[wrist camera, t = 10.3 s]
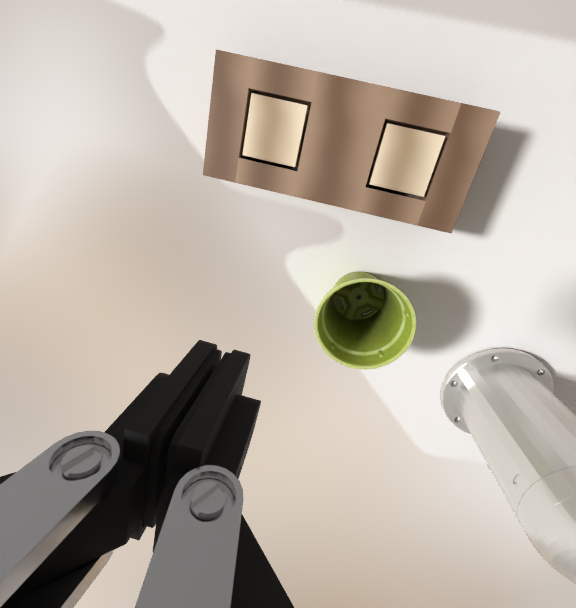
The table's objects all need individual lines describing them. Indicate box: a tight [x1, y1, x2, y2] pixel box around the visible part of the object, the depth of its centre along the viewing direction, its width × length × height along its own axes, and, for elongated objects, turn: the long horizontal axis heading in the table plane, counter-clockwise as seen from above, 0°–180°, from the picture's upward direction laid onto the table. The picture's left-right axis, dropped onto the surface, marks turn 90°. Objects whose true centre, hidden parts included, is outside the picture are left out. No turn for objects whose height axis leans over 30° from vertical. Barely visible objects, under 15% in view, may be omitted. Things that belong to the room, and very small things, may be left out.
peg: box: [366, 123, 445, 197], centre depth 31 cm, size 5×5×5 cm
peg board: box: [203, 50, 500, 233], centre depth 31 cm, size 24×10×5 cm, turn 78°
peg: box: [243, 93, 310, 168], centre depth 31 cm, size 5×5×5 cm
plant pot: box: [314, 272, 416, 369], centre depth 34 cm, size 9×9×9 cm
